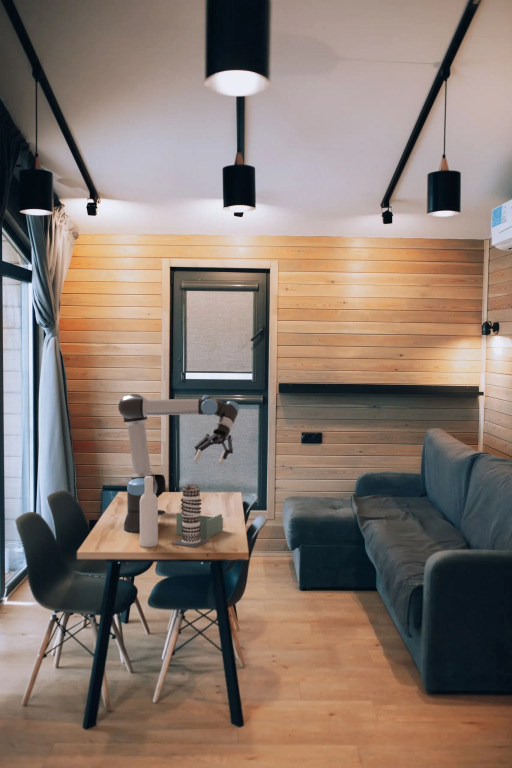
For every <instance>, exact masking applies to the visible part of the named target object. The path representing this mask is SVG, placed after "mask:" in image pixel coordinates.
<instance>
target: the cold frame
mask: <svg viewBox="0 0 512 768" xmlns="http://www.w3.org/2000/svg"><path fill="white" fill-rule="evenodd" d="M182 521H183V516H182V513H181V512H177V513H176V528H175V529H176V535H177V536H182V532H183V531H182V529H183V528H182ZM223 524H224V518H223V514H222V513H221V514H217V515H215V516H210V515H209V516H208V515H200V525H201V527H200V529H201V530H200V533H201V535H200V536H201V539H209V538H211V537H212V536H215V535H217V534H218V533H221V532H223V531H224V526H223Z"/></svg>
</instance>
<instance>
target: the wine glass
mask: <svg viewBox="0 0 512 768" xmlns="http://www.w3.org/2000/svg"><path fill="white" fill-rule="evenodd" d="M154 475H155V480H156V482H157V486H158V489H157V493H156V496H157V499H158V498H159V497H160V496H162V494H163V493H164V492H165V489H166V484H167V483H166V478H165V475H164V474H161V473H160V474H159V473H157V474H155V473H154ZM164 514H166V511H165V510H164V509H163V510H162V509H158V516H160V515H164Z"/></svg>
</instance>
